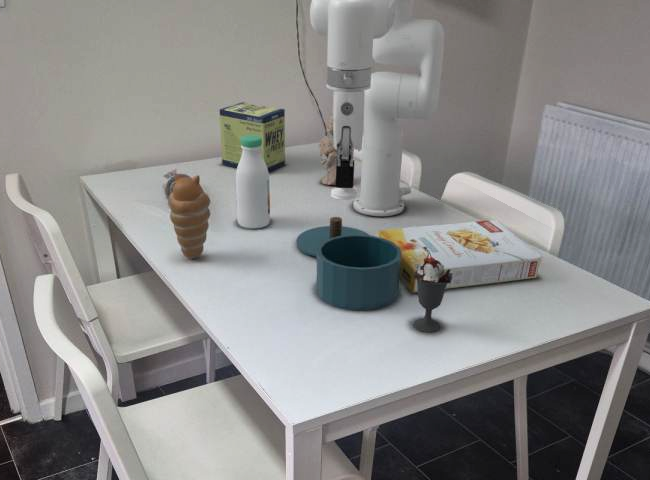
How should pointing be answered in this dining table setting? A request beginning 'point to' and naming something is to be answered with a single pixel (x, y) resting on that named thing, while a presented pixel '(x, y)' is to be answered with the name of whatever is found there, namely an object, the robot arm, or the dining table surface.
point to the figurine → (329, 155)
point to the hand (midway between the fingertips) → (344, 183)
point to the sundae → (430, 291)
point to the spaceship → (171, 182)
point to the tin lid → (324, 235)
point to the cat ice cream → (189, 214)
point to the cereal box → (465, 253)
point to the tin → (358, 272)
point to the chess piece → (344, 193)
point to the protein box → (253, 132)
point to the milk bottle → (252, 185)
